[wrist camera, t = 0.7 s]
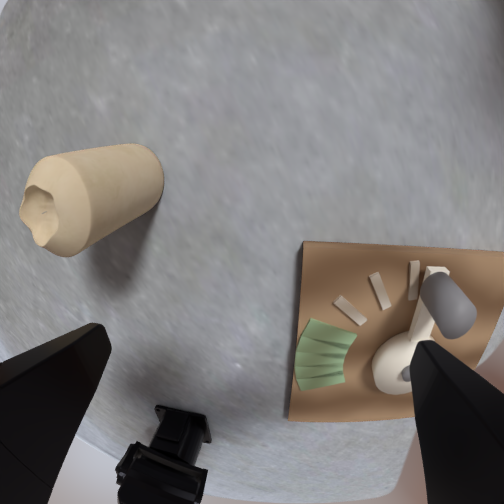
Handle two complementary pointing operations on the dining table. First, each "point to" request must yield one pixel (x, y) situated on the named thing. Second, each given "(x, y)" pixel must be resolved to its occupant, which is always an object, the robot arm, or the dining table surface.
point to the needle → (423, 329)
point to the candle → (89, 195)
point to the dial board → (376, 322)
